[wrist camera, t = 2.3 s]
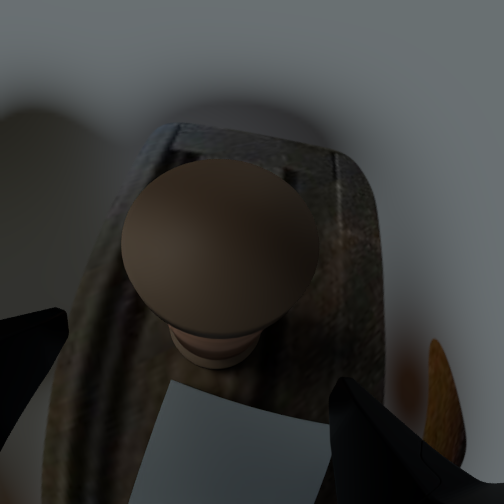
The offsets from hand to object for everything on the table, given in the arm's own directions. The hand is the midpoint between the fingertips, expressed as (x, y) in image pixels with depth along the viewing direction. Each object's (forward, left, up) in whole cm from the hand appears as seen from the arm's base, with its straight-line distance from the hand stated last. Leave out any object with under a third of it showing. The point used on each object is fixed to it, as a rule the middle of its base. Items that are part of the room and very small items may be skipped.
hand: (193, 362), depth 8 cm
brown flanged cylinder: (+4, +1, -10) cm, 11 cm away
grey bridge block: (-5, -3, -10) cm, 12 cm away
